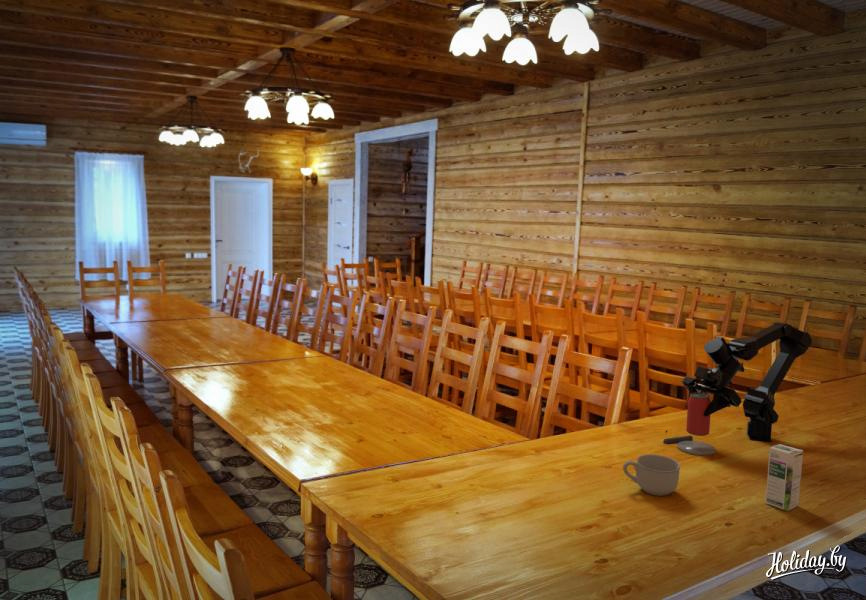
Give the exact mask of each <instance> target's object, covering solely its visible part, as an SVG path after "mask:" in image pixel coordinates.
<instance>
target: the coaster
mask: <svg viewBox="0 0 866 600" xmlns="http://www.w3.org/2000/svg"><path fill="white" fill-rule="evenodd" d="M676 446H677V447H676V449H678V450H679V451H681V452H682V453H685V454H689V455H694V456H713V455H715V454H716V453H717V452H716V451H717V448H716V447H715V446H714V445H712V444H709V443H707V442H702V441H696V440H690V441H682V442H677V445H676Z"/></svg>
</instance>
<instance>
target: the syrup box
mask: <svg viewBox="0 0 866 600" xmlns="http://www.w3.org/2000/svg"><path fill="white" fill-rule="evenodd" d="M803 457H804V450H803V449H799V448H795V447H792V446H789V445H788V446H787V445H784V444H782V443H781V444H776V445H773V446H770V447H769V453H768V464H767V480H766V481H767V482H766V492H765V501H764V504H765V505H769V506H771V507H775V508H778V509H780V510H784V511H786V512H789V511H791V510H792V509H794V508H796V507H799V500H800V493H801V492H800V491H801V478H802V465H803Z"/></svg>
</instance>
